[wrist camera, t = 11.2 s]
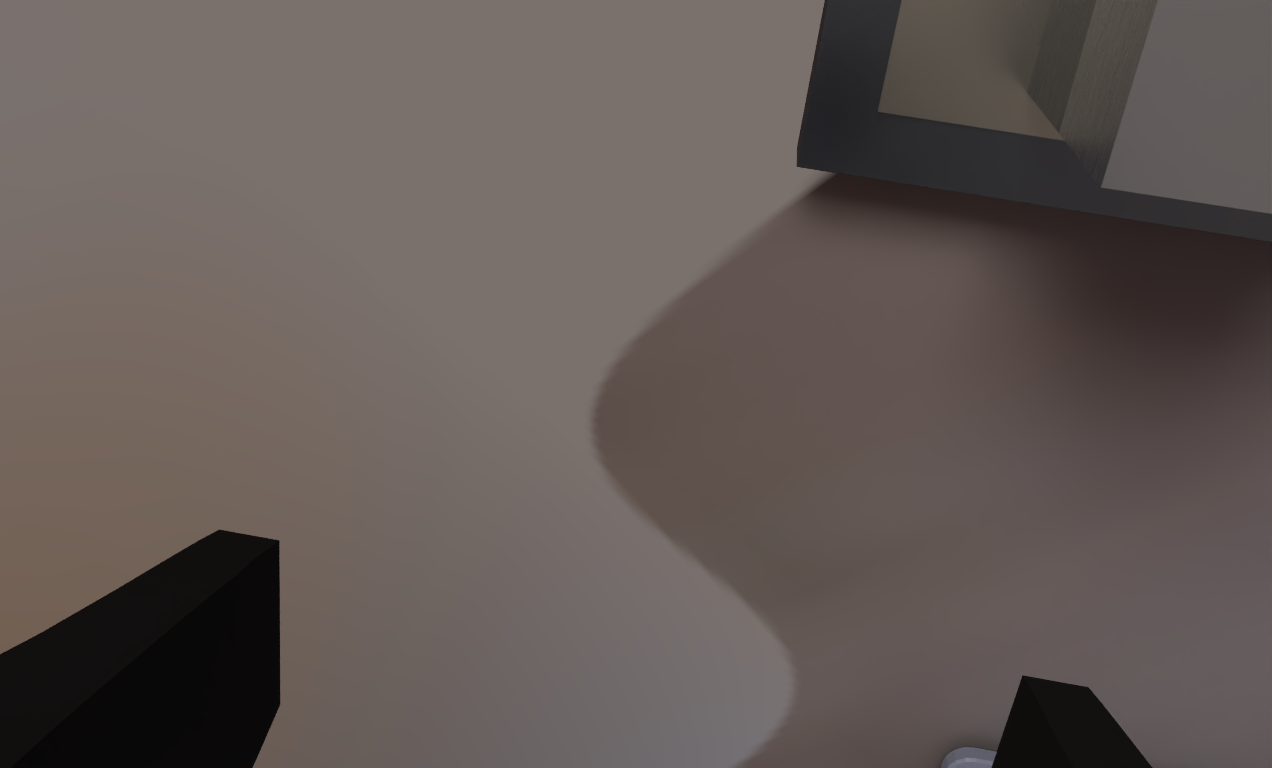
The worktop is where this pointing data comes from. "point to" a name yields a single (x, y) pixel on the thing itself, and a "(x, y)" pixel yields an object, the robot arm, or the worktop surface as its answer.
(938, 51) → the stand
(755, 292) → the worktop surface
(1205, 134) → the block
